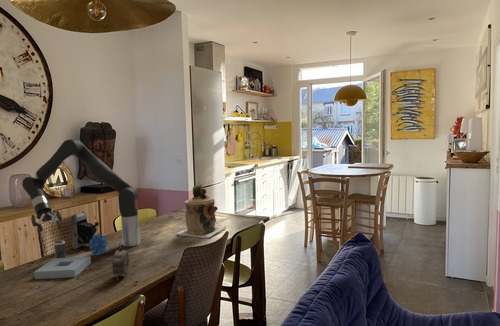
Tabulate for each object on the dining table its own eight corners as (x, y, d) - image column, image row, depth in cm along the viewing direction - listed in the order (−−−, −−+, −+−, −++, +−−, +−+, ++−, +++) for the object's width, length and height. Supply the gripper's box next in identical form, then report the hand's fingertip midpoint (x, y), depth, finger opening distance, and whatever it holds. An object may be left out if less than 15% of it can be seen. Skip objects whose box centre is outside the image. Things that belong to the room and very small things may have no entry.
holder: (90, 263, 183) (90, 256, 183) (75, 277, 165) (74, 269, 165) (54, 264, 183) (53, 258, 182) (34, 279, 165) (34, 271, 165)
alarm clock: (119, 272, 169) (117, 238, 167) (131, 272, 169) (129, 237, 168) (112, 282, 158) (110, 245, 156) (125, 281, 158) (123, 244, 157)
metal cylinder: (68, 258, 192) (66, 239, 191) (63, 261, 187) (62, 242, 187) (58, 258, 192) (57, 240, 191) (53, 262, 187) (52, 243, 186)
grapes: (113, 253, 198) (112, 231, 197) (105, 257, 191) (103, 235, 190) (96, 251, 201) (94, 230, 200) (87, 255, 195) (85, 233, 194)
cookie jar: (174, 236, 227) (171, 185, 225) (194, 226, 250) (192, 180, 247) (209, 239, 218) (207, 185, 215) (227, 228, 241) (225, 180, 238)
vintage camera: (95, 250, 205) (94, 215, 204) (71, 249, 208) (70, 214, 207) (105, 245, 215) (105, 212, 213) (82, 244, 218) (81, 211, 216)
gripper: (28, 203, 196) (37, 227, 189) (56, 199, 206) (66, 222, 200) (25, 212, 200) (34, 236, 193) (53, 207, 210) (63, 230, 204)
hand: (50, 229), depth 196 cm, fingers open, 8 cm apart
